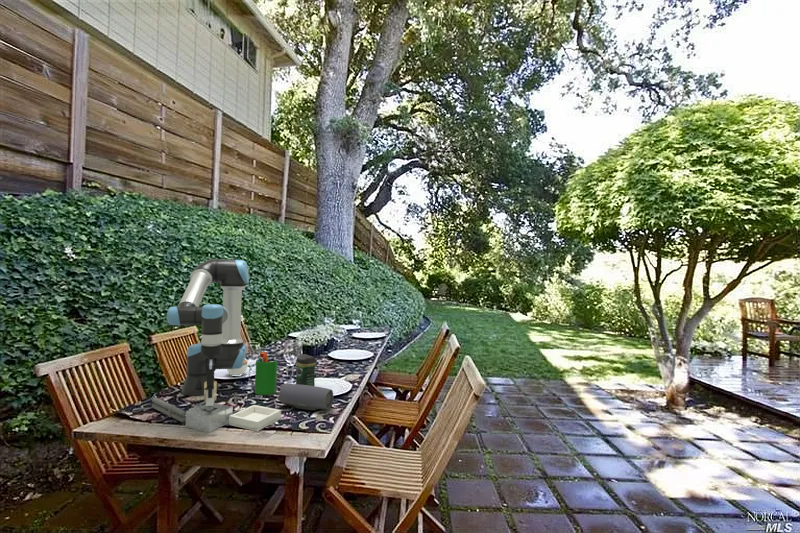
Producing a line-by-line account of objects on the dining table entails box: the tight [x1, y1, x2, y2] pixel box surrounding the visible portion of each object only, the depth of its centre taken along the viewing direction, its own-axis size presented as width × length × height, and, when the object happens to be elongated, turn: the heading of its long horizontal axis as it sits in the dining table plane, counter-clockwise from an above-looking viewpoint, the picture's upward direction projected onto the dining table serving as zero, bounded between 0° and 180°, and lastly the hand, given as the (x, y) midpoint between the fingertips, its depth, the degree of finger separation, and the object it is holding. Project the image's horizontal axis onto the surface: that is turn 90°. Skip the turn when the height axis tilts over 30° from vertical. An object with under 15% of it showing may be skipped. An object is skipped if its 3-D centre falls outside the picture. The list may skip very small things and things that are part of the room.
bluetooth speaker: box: [278, 383, 335, 411], centre depth 182 cm, size 23×9×10 cm, turn 74°
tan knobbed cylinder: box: [203, 380, 218, 412], centre depth 161 cm, size 4×4×16 cm
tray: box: [228, 404, 282, 432], centre depth 165 cm, size 14×14×4 cm
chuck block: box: [185, 402, 234, 433], centre depth 161 cm, size 12×12×6 cm
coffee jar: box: [295, 353, 316, 386], centre depth 204 cm, size 10×8×19 cm
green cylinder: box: [254, 352, 278, 396], centre depth 202 cm, size 10×9×20 cm
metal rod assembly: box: [151, 396, 186, 424], centre depth 169 cm, size 26×3×5 cm, turn 54°
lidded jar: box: [226, 359, 248, 376], centre depth 229 cm, size 11×11×9 cm
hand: (210, 403), depth 161 cm, fingers closed on tan knobbed cylinder, 4 cm apart
